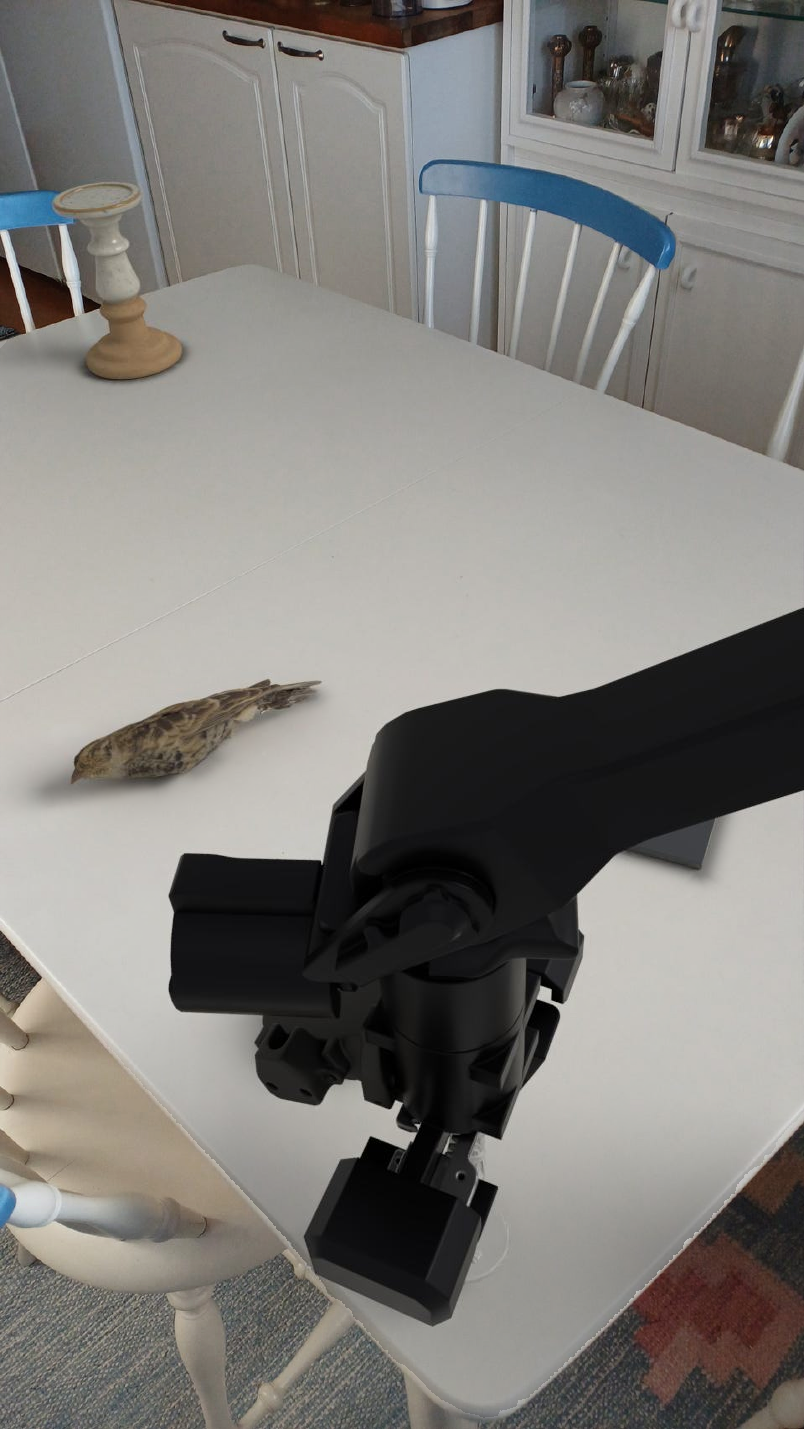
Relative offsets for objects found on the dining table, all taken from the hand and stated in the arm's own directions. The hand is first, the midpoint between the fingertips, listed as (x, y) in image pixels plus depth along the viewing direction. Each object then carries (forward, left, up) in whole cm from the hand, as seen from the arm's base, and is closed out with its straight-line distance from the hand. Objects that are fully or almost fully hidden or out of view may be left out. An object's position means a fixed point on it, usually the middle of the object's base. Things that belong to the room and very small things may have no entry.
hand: (463, 1165), depth 53 cm
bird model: (+32, -26, -6) cm, 42 cm away
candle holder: (+79, -86, -6) cm, 117 cm away
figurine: (0, +2, -5) cm, 5 cm away
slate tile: (-1, -33, -6) cm, 34 cm away
